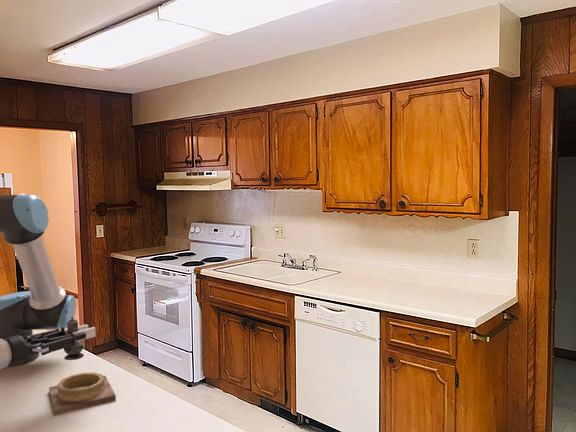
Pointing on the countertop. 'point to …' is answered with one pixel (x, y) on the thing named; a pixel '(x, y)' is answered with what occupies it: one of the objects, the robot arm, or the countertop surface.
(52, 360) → the countertop surface
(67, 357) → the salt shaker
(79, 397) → the collar stand
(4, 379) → the countertop surface
